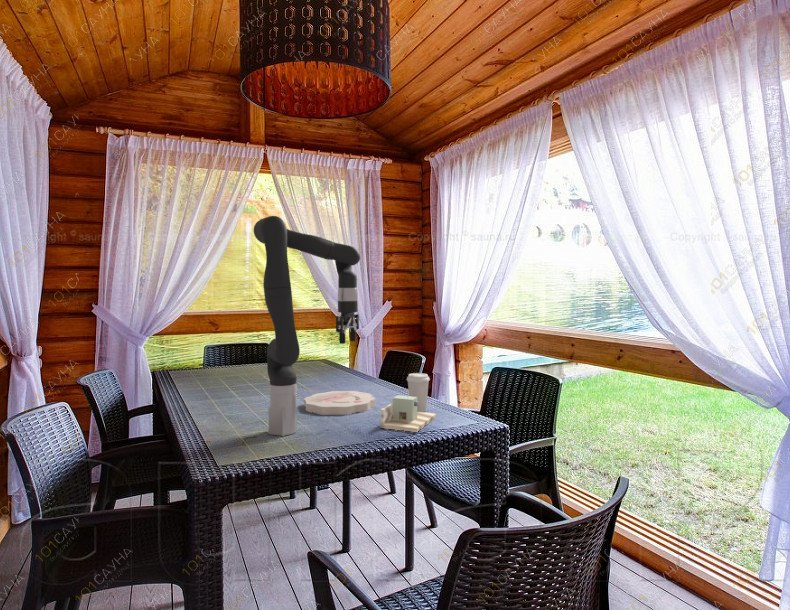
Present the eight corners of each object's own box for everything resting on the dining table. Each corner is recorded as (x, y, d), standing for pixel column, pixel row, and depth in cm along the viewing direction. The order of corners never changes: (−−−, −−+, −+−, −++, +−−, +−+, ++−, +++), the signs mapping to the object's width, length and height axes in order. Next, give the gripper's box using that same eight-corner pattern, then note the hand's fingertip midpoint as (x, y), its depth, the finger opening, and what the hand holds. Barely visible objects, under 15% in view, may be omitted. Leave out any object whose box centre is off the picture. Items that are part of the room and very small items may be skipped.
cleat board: (417, 433, 173) (417, 413, 172) (380, 428, 178) (380, 409, 178) (436, 417, 193) (436, 399, 193) (403, 413, 198) (403, 396, 198)
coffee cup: (403, 409, 206) (403, 373, 205) (423, 407, 209) (423, 372, 209) (412, 414, 197) (412, 377, 196) (433, 412, 201) (433, 376, 200)
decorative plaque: (338, 388, 232) (388, 396, 214) (338, 395, 233) (388, 405, 214) (289, 399, 208) (341, 410, 190) (289, 408, 209) (341, 420, 190)
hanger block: (415, 421, 182) (415, 400, 181) (392, 418, 185) (392, 397, 185) (419, 418, 186) (419, 397, 186) (397, 415, 190) (397, 395, 189)
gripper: (347, 300, 179) (347, 344, 179) (364, 299, 192) (364, 340, 193) (329, 300, 182) (329, 343, 182) (347, 299, 195) (347, 340, 195)
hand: (347, 342), depth 187 cm, fingers open, 8 cm apart
